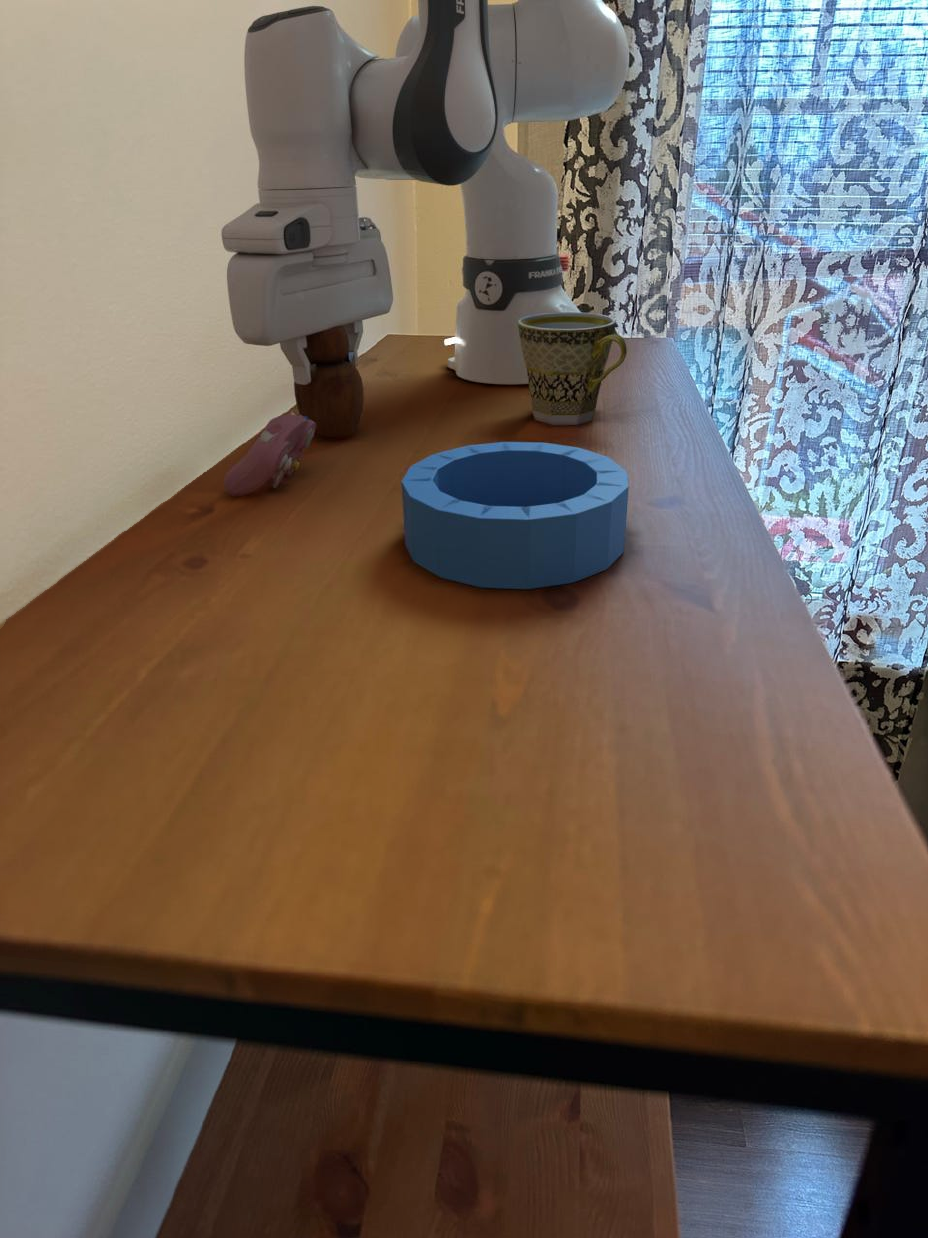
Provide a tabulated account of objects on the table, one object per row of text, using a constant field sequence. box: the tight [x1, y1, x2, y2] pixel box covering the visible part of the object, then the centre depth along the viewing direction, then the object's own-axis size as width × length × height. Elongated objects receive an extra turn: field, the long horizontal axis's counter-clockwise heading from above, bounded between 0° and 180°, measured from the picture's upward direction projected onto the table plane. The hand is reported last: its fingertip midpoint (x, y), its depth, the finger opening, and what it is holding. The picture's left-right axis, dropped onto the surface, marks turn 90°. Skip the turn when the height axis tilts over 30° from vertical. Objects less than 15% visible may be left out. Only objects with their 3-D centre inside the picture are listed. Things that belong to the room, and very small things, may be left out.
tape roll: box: [400, 441, 630, 590], centre depth 61 cm, size 16×16×5 cm
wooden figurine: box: [293, 326, 365, 441], centre depth 82 cm, size 7×6×15 cm
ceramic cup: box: [518, 311, 628, 426], centre depth 87 cm, size 13×10×10 cm
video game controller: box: [223, 411, 316, 497], centre depth 73 cm, size 10×5×7 cm, turn 169°
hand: (327, 375), depth 83 cm, fingers closed on wooden figurine, 5 cm apart
